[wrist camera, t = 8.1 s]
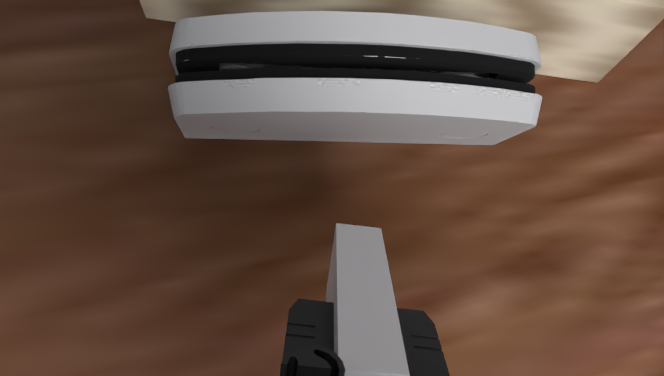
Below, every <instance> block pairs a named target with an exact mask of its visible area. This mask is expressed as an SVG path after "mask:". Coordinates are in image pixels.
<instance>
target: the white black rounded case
mask: <svg viewBox="0 0 664 376" xmlns="http://www.w3.org/2000/svg"><path fill="white" fill-rule="evenodd" d="M169 56H170V59H171V62H172V65H173V68H174V71H175V73H176V79H175V83H174V84H171V85H170V86H168V92H169V97H170V102H171V107H172V112H173V116H174V119H175V121H176V123H177V124H178V126H179V128H180V130H181V132H182V134H183V135H184V137H185V138H202V139H246V140H291V141H335V142H380V143H424V144H468V145H495V144H497V143H499V142H501V141H504V140H506V139H508V138H511V137H513V136H515V135H517V134H520V133H522V132H524V131H526V130H529V129H531V128H533V127H536V124H537V119H538V115H539V110H540V106H541V101H542V96H540V95H538V94H535V87H534V86H533V85H530V84H526V83H528V82H529V81H531V80H532V79H533V78H534V77H535V71H537V70H538V69H539V68H541V66H542V62H541V58H540V53H539V49H538V44H537V40H536V36H534V35H533V34H531V33H527V32H522V31H518V30H513V29H509V28H504V27H499V26H493V25H487V24H482V23H476V22H470V21H461V20H453V19H445V18H436V17H427V16H417V15H406V14H392V13H373V12H342V11H286V12H252V13H238V14H224V15H213V16H203V17H193V18H185V19H181V20H179V21H178V22H177V23H176V24H175V26H174V31H173V36H172V40H171V45H170V50H169Z"/></svg>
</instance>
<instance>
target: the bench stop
mask: <svg viewBox="0 0 664 376" xmlns="http://www.w3.org/2000/svg"><path fill="white" fill-rule="evenodd" d="M139 1H140V3H141V6H142V9H143V11H144V14H145V17H146V18H150V19H157V20H164V21H171V22H178V21H179V20H181V19H185V18H193V17H203V16H213V15H224V14H238V13H252V12H286V11H342V12H373V13H392V14H406V15H417V16H427V17H436V18H445V19H453V20H461V21H470V22H476V23H482V24H487V25H493V26H499V27H504V28H509V29H513V30H518V31H522V32H527V33H531V34H533V35H534V36H536V40H537V44H538V49H539V53H540V58H541V62H542V66H541V68H539V69H538V70H537V71H535V74H540V75H547V76H554V77H561V78H568V79H575V80H582V81H589V82H596V83H598V82H599V81H600V80H601V79H602V78H603V77H604V76H605V75H606V74H607V73H608V72H609V71H610V70H611V69H612V68H613V67H614V66H615V65H616V64H617V63H618V62H619V61H620V60H621V59H623V58H624V57H625V56H626V55H627V54H628V53H629V52H630V51H631V50H632V49H633V48H634V47H635V46H636V45H637V44H638V43H639V42H640V41H641V40H642V39H643V38H644V37H645V36H646V35H647V34H648V33H649V32H650V31H651V30H652V29H654V28H655V27H656V26H657V25H658V24H659V23H660V22H661V21H662V20H663V19H664V0H139Z"/></svg>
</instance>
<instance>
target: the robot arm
mask: <svg viewBox="0 0 664 376" xmlns="http://www.w3.org/2000/svg"><path fill="white" fill-rule="evenodd" d="M441 349H442V348H441V345H440V341H439V340H438V335H437V331H436V328H435V324H434V323H433V322H432V320H431V319H430V318H429V317H428V316H427V315H426V313H425V312H424V311H419V310H409V309H400V308H397V307H396V302H395V297H394V292H393V287H392V282H391V277H390V271H389V266H388V261H387V256H386V251H385V246H384V241H383V236H382V231H381V228H374V227H366V226H357V225H348V224H340V223H336V228H335V234H334V241H333V248H332V255H331V261H330V268H329V275H328V282H327V288H326V302H324V301H314V300H305V299H298V300H297V301H296V302H295V303H294V304H293V306H292V307H291V308H290V309H289V315H288V323H287V331H286V338H285V346H284V354H283V361H282V363H281V371H280V376H450V375H449V372H448V368H447V365H446V362H445V358H444V355H443V352H442V351H441Z"/></svg>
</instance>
